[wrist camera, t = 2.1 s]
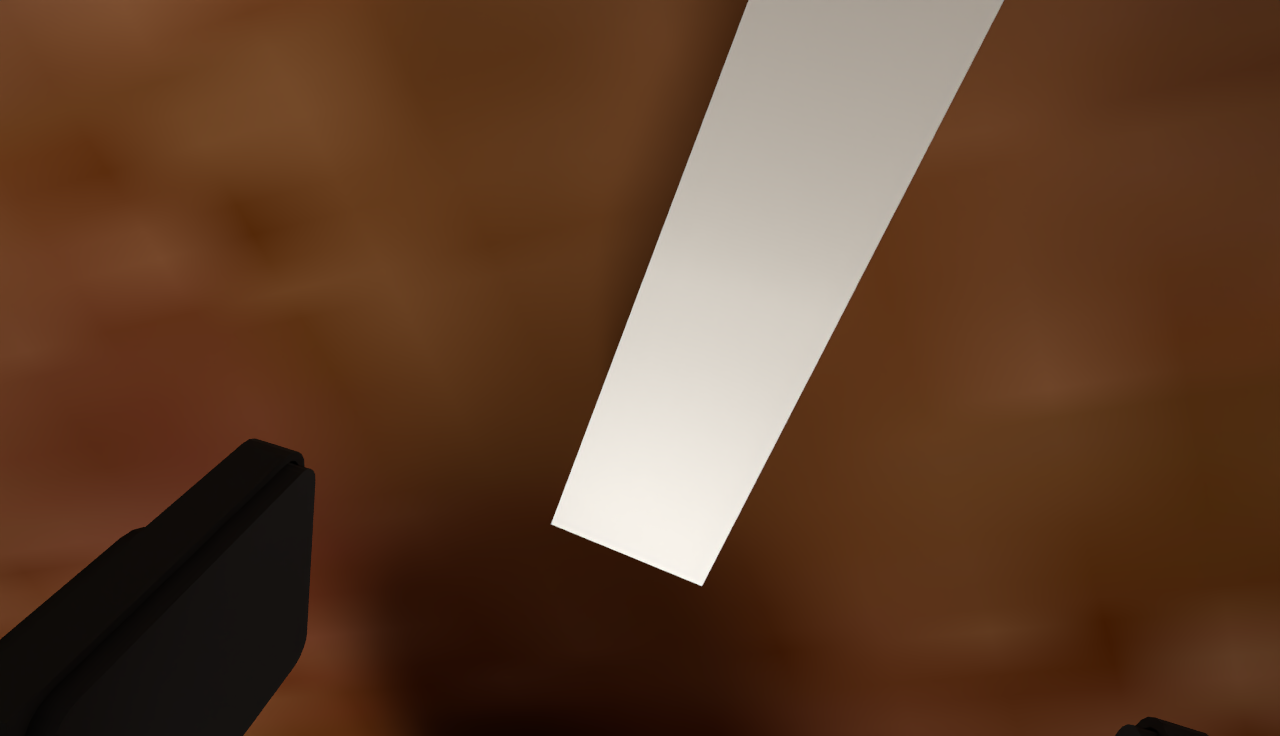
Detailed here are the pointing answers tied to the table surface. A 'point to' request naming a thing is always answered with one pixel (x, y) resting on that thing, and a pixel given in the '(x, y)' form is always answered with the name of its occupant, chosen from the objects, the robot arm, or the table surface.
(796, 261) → the push rod
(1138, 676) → the table surface
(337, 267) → the table surface
